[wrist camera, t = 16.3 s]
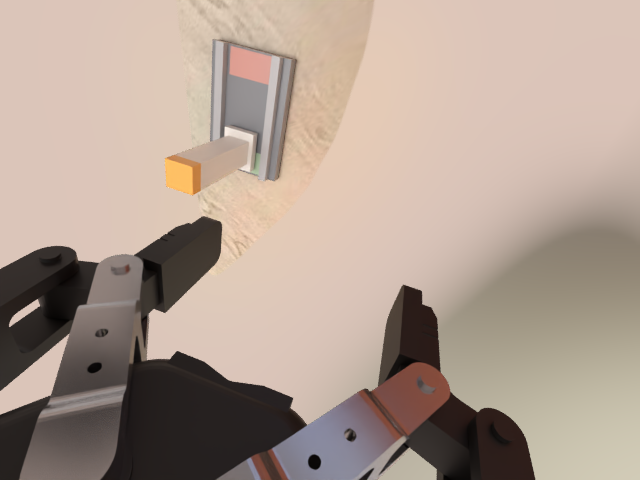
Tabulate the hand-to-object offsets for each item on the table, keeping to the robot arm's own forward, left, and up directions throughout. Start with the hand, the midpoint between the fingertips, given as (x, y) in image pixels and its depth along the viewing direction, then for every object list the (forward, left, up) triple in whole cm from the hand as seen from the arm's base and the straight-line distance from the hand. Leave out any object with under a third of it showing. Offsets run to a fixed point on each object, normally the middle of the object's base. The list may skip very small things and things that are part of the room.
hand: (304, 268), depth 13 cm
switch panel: (-10, -14, -30) cm, 35 cm away
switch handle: (-7, -17, -28) cm, 33 cm away
